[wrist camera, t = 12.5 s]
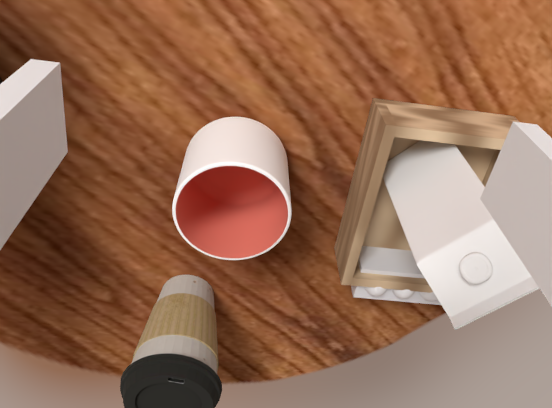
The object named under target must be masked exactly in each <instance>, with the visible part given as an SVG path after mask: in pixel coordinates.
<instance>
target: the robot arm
mask: <svg viewBox="0 0 552 408" xmlns="http://www.w3.org/2000/svg"><path fill="white" fill-rule="evenodd" d="M67 152H68V149H67V137H66V126H65V114H64V103H63V91H62V80H61V68H60V63H58V62H50V61H42V60H35V59H30V60H29V61H28V62H27V63H26V64H24V65H23V66H22V67H21V68H19V69H18V70H17V71H16V72H15V73H13V74H12V75H11V76H10V77H9V78H7V79H6V80H5V81H4V82H2V80H1V79H0V250H1V248H2V247H3V245H4V244H5V243H6V241H7V240H8V238H9V237H10V235H11V234H12V232H13V231H14V229H15V228H16V227H17V225H18V224H19V222H20V221H21V219H22V218H23V216H24V215H25V213H26V212H27V211H28V209H29V208H30V206H31V205H32V203H33V202H34V200H35V199H36V197H37V196H38V195H39V193H40V192H41V190H42V189H43V187H44V186H45V184H46V183H47V181H48V180H49V179H50V177H51V176H52V174H53V173H54V171H55V170H56V168H57V167H58V165H59V164H60V163H61V161H62V160H63V158H64V157H65V155H66V154H67ZM480 200H481V201H482V203H483V204H484V206H485V207H486V209H487V210H488V212H489V213H490V215H491V216H492V218H493V219H494V221H495V222H496V224H497V225H498V227H499V228H500V230H501V231H502V233H503V234H504V236H505V237H506V239H507V240H508V242H509V243H510V245H511V246H512V248H513V249H514V251H515V252H516V254H517V255H518V257H519V258H520V260H521V261H522V263H523V264H524V266H525V267H526V269H527V270H528V272H529V273H530V275H531V276H532V278H533V279H534V281H535V282H536V284H537V285H538V287H539V289H540V290H541V292H542V293H543V294H544V296H545V298H546V299H547V301H548V302H549V303H550V305H551V307H552V138H551V137H550V136H549V135H548V134H547V133H546V132H544V131H543V130H542V129H541V128H540V127H539V126H538V125H536V124H528V123H520V122H513V123H512V125H511V127H510V130H509V132H508V134H507V137H506V139H505V141H504V144H503V146H502V148H501V151H500V153H499V155H498V158H497V160H496V162H495V165H494V167H493V169H492V172H491V174H490V176H489V179H488V181H487V183H486V186H485V188H484V190H483V193H482V195H481V197H480Z"/></svg>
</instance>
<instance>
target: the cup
mask: <svg viewBox="0 0 552 408" xmlns="http://www.w3.org/2000/svg"><path fill="white" fill-rule="evenodd" d="M172 214H173V219H174V222H175V225H176V227H177V229H178V231H179V233H180V234H181V236H182V237H183V238H184V239H185V240H186V241H187V243H189V244H190V245H191V246H192V247H194V248H195V249H196V250H198V251H200V252H202V253H204V254H206V255H208V256H211V257H215V258H218V259H224V260H243V259H249V258H253V257H256V256H259V255H261V254H263V253H265V252H267V251H269V250H270V249H272V248H273V247H274V246H275V245H277V244H278V243H279V242H280V241H281V239H282V238H283V237H284V235H285V234H286V232H287V230H288V228H289V225H290V221H291V215H292V209H291V197H290V185H289V174H288V162H287V155H286V152H285V149H284V146H283V144H282V142H281V141H280V139H279V138H278V137H277V135H276V134H275V133H274V132H273V131H272V130H271V129H269V128H268V127H267V126H265V125H264V124H262V123H260V122H258V121H255V120H252V119H249V118H244V117H226V118H221V119H218V120H215V121H213V122H211V123H209V124H207V125H205V126H204V127H203V128H201V129H200V130H199V131H198V132H197V133H196V134H195V135H194V137H193V138H192V140H191V141H190V143H189V145H188V148H187V151H186V154H185V158H184V162H183V165H182V169H181V173H180V177H179V180H178V184H177V188H176V191H175V195H174V199H173V205H172Z"/></svg>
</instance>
